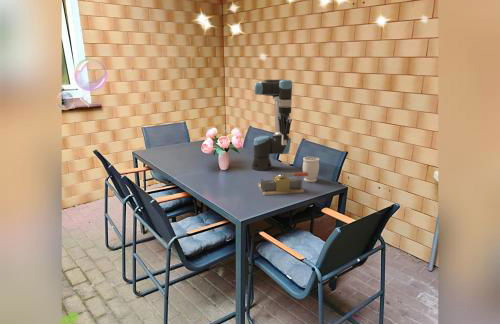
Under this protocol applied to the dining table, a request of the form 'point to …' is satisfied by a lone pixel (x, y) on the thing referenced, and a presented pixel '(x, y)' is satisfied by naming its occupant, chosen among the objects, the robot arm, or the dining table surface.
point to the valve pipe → (281, 184)
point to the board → (280, 191)
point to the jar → (311, 168)
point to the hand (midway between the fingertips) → (284, 144)
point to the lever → (293, 174)
